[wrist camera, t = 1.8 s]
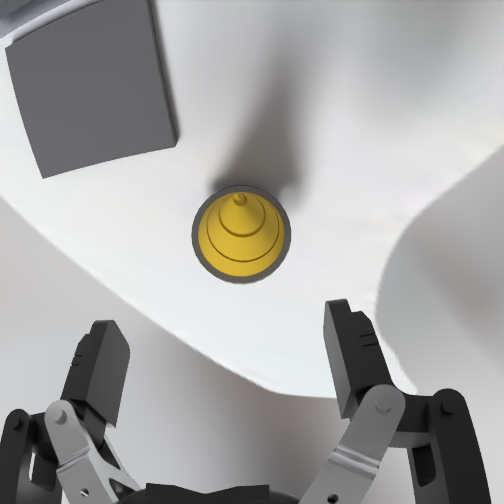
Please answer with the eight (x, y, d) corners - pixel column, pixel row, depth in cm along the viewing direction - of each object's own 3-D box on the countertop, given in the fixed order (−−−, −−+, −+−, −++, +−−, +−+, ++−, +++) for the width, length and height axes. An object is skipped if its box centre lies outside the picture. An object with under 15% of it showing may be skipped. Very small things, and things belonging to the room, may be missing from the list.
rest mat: (147, -12, 11) (144, -13, 11) (176, 143, 17) (174, 147, 16) (10, 47, 12) (5, 48, 11) (47, 174, 17) (42, 178, 17)
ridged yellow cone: (186, 237, 21) (134, 185, 11) (251, 190, 22) (250, 106, 12) (234, 303, 20) (218, 305, 11) (301, 253, 21) (342, 211, 11)
